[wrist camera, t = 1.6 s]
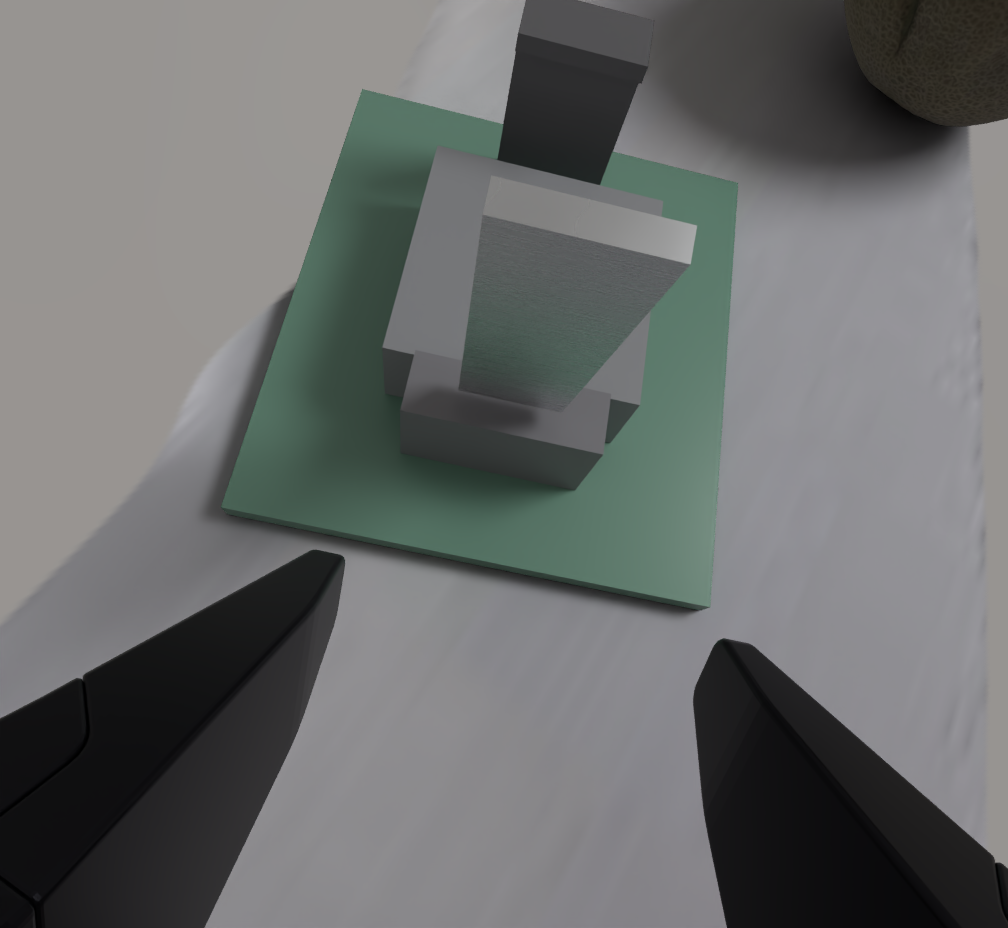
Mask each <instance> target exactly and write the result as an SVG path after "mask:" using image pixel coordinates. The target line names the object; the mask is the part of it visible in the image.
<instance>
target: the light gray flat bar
mask: <svg viewBox="0 0 1008 928" xmlns="http://www.w3.org/2000/svg"><path fill="white" fill-rule="evenodd" d="M696 230H697V225H693V224H689V223H685V222H681V221H676V220H672V219H668V218H664V217H660V216H656V215H652V214H648V213H644V212H640V211H636V210H631V209H627V208H623V207H619V206H615V205H611V204H607V203H603V202H599V201H595V200H591V199H586V198H582V197H578V196H574V195H570V194H566V193H562V192H558V191H554V190H550V189H546V188H541V187H537V186H533V185H529V184H525V183H521V182H517V181H513V180H509V179H505V178H501V177H496V176H492V175H491V179H490V184H489V188H488V193H487V197H486V202H485V206H484V211H483V216H482V223H481V230H480V237H479V244H478V252H477V259H476V266H475V273H474V280H473V288H472V295H471V302H470V309H469V316H468V324H467V331H466V338H465V345H464V352H463V360H462V367H461V374H460V381H459V388H458V390H460V391H464V392H469V393H473V394H478V395H482V396H487V397H491V398H496V399H500V400H505V401H509V402H514V403H519V404H523V405H528V406H532V407H537V408H541V409H546V410H550V411H555V412H559V413H562V412H563V411H564V410H565V408H566V407H567V406H568V405H569V404H570V403H571V402H572V400H573V399H574V398H575V397H576V396H577V395H578V394H579V392H580V391H581V390H582V389H583V388H584V387H585V385H586V384H587V383H588V382H589V381H590V380H591V379H592V377H593V376H594V375H595V374H596V373H597V372H598V370H599V369H600V368H601V367H602V366H603V365H604V364H605V362H606V361H607V360H608V359H609V358H610V357H611V356H612V354H613V353H614V352H615V351H616V350H617V349H618V347H619V346H620V345H621V344H622V343H623V342H624V341H625V339H626V338H627V337H628V336H629V335H630V334H631V333H632V331H633V330H634V329H635V328H636V327H637V326H638V324H639V323H640V322H641V321H642V320H643V319H644V318H645V316H646V315H647V314H648V313H649V312H650V311H651V310H652V308H653V307H654V306H655V305H656V304H657V303H658V301H659V300H660V299H661V298H662V297H663V296H664V295H665V293H666V292H667V291H668V290H669V289H670V288H671V286H672V285H673V284H674V283H675V282H676V281H677V280H678V278H679V277H680V276H681V275H682V274H683V273H684V272H685V270H686V269H687V268H688V267H689V266H690V265H691V259H692V253H693V247H694V241H695V236H696Z"/></svg>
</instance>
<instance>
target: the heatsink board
mask: <svg viewBox="0 0 1008 928" xmlns="http://www.w3.org/2000/svg"><path fill="white" fill-rule="evenodd" d="M653 26H654V21H653V20H650V19H646V18H642V17H638V16H635V15H631V14H627V13H623V12H619V11H616V10H612V9H608V8H604V7H601V6H597V5H593V4H589V3H585V2H582V1H578V0H526V3H525V7H524V11H523V15H522V20H521V24H520V28H519V32H518V38H517V44H516V49H515V51H516V55H515V60H514V66H513V72H512V78H511V83H510V89H509V95H508V101H507V107H506V112H505V118H504V124H500V123H496V122H492V121H488V120H484V119H480V118H476V117H472V116H468V115H464V114H460V113H456V112H452V111H448V110H444V109H440V108H436V107H432V106H428V105H424V104H420V103H416V102H412V101H408V100H404V99H400V98H396V97H392V96H388V95H384V94H380V93H376V92H371V91H367V90H363V89H362V92H361V95H360V98H359V101H358V104H357V106H356V109H355V112H354V115H353V118H352V122H351V124H350V127H349V130H348V133H347V136H346V139H345V142H344V145H343V148H342V151H341V154H340V157H339V160H338V163H337V166H336V168H335V171H334V174H333V178H332V180H331V183H330V186H329V189H328V192H327V195H326V198H325V201H324V204H323V207H322V210H321V213H320V216H319V219H318V222H317V225H316V228H315V230H314V233H313V236H312V239H311V242H310V245H309V248H308V251H307V254H306V257H305V260H304V263H303V266H302V269H301V272H300V275H299V278H298V281H297V284H296V287H295V290H294V292H293V295H292V298H291V301H290V304H289V307H288V310H287V313H286V316H285V319H284V322H283V325H282V328H281V331H280V334H279V337H278V340H277V343H276V346H275V349H274V352H273V354H272V357H271V360H270V363H269V366H268V369H267V372H266V375H265V378H264V381H263V384H262V387H261V390H260V393H259V396H258V399H257V402H256V405H255V408H254V411H253V414H252V416H251V419H250V422H249V425H248V428H247V431H246V434H245V437H244V440H243V443H242V446H241V449H240V452H239V455H238V458H237V461H236V464H235V467H234V470H233V473H232V476H231V479H230V481H229V484H228V487H227V490H226V493H225V496H224V499H223V502H222V505H221V508H222V509H223V510H224V511H225V512H226V514H229V515H234V516H239V517H244V518H249V519H254V520H259V521H263V522H268V523H273V524H278V525H283V526H288V527H293V528H298V529H303V530H308V531H313V532H317V533H322V534H327V535H332V536H337V537H342V538H347V539H352V540H357V541H362V542H367V543H371V544H376V545H381V546H386V547H391V548H396V549H401V550H406V551H411V552H416V553H420V554H425V555H430V556H435V557H440V558H445V559H450V560H455V561H460V562H465V563H470V564H474V565H479V566H484V567H489V568H494V569H499V570H504V571H509V572H514V573H519V574H524V575H528V576H533V577H538V578H543V579H548V580H553V581H558V582H563V583H568V584H573V585H578V586H582V587H587V588H592V589H597V590H602V591H607V592H612V593H617V594H622V595H627V596H632V597H636V598H641V599H646V600H651V601H656V602H661V603H666V604H671V605H676V606H681V607H686V608H690V609H695V610H703V609H706V608H709V607H710V603H711V587H712V572H713V557H714V542H715V527H716V511H717V496H718V481H719V466H720V451H721V435H722V420H723V405H724V390H725V375H726V359H727V344H728V329H729V314H730V299H731V284H732V268H733V253H734V238H735V223H736V208H737V192H738V183H736V182H732V181H728V180H724V179H720V178H716V177H712V176H708V175H704V174H700V173H696V172H692V171H688V170H684V169H680V168H676V167H672V166H668V165H664V164H660V163H656V162H652V161H648V160H644V159H640V158H636V157H632V156H628V155H624V154H620V153H616V152H613V149H614V146H615V144H616V141H617V139H618V136H619V133H620V131H621V128H622V125H623V123H624V120H625V117H626V115H627V112H628V109H629V107H630V104H631V101H632V99H633V96H634V93H635V91H636V88H637V85H638V83H642V81H643V78H644V76H645V73H646V70H647V68H648V63H649V55H650V48H651V41H652V33H653ZM491 175H492V176H496V177H501V178H505V179H509V180H513V181H517V182H521V183H525V184H529V185H533V186H537V187H541V188H546V189H550V190H554V191H558V192H562V193H566V194H570V195H574V196H578V197H582V198H586V199H591V200H595V201H599V202H603V203H607V204H611V205H615V206H619V207H623V208H627V209H631V210H636V211H640V212H644V213H648V214H652V215H656V216H660V217H664V218H668V219H672V220H676V221H681V222H685V223H689V224H693V225H697V230H696V236H695V241H694V247H693V253H692V259H691V265H690V266H689V267H688V268H687V269H686V270H685V272H684V273H683V274H682V275H681V276H680V277H679V278H678V280H677V281H676V282H675V283H674V284H673V285H672V286H671V288H670V289H669V290H668V291H667V292H666V293H665V295H664V296H663V297H662V298H661V299H660V300H659V301H658V303H657V304H656V305H655V306H654V307H653V308H652V310H651V311H650V312H649V313H648V314H647V315H646V316H645V318H644V319H643V320H642V321H641V322H640V323H639V324H638V326H637V327H636V328H635V329H634V330H633V331H632V333H631V334H630V335H629V336H628V337H627V338H626V339H625V341H624V342H623V343H622V344H621V345H620V346H619V347H618V349H617V350H616V351H615V352H614V353H613V354H612V356H611V357H610V358H609V359H608V360H607V361H606V362H605V364H604V365H603V366H602V367H601V368H600V369H599V370H598V372H597V373H596V374H595V375H594V376H593V377H592V379H591V380H590V381H589V382H588V383H587V384H586V385H585V387H584V388H583V389H582V390H581V391H580V392H579V394H578V395H577V396H576V397H575V398H574V399H573V400H572V402H571V403H570V404H569V405H568V406H567V407H566V408H565V410H564V411H563V412H562V413H559V412H555V411H550V410H546V409H541V408H537V407H532V406H528V405H523V404H519V403H514V402H509V401H505V400H500V399H496V398H491V397H487V396H482V395H478V394H473V393H469V392H464V391H460V390H458V388H459V381H460V374H461V367H462V360H463V352H464V345H465V338H466V331H467V324H468V316H469V309H470V302H471V295H472V288H473V280H474V273H475V266H476V259H477V252H478V244H479V237H480V230H481V223H482V216H483V211H484V206H485V202H486V197H487V193H488V188H489V184H490V179H491Z"/></svg>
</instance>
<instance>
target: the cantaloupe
mask: <svg viewBox="0 0 1008 928" xmlns="http://www.w3.org/2000/svg"><path fill="white" fill-rule="evenodd" d="M844 6H845V16H846V22H847V28H848V34H849V37H850V41H851V45H852V48H853V51H854V54H855V56H856V59H857V61H858V64H859V66H860V68H861V70H862V72H863V73H864V75H865V76H866V78H867V79H868V80H869V82H870V83H871V84H872V85H874V86H875V87H876V88H878V89H879V90H880V91H882V92H883V93H884V94H885V95H886V96H888V97H889V98H891V99H892V100H894V101H895V102H896V103H898V104H899V105H900V106H901V107H903V108H904V109H906V110H908V111H910V112H911V113H912V114H914V115H917V116H920V117H922V118H924V119H926V120H928V121H930V122H932V123H935V124H939V125H944V126H971V125H978V124H985V123H990V122H994V121H999V120H1003V119H1007V118H1008V0H844Z"/></svg>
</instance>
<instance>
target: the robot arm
mask: <svg viewBox="0 0 1008 928" xmlns="http://www.w3.org/2000/svg"><path fill="white" fill-rule="evenodd" d="M344 568H345V559H344V557H343V556H341V555H338V554H334V553H329V552H324V551H320V550H311V551H309V552H307V553H305V554H303V555H301V556H300V557H298V558H296V559H294V560H292V561H291V562H289V563H287V564H285V565H283V566H281V567H280V568H278V569H276V570H274V571H272V572H270V573H269V574H267V575H265V576H263V577H261V578H259V579H258V580H256V581H254V582H252V583H250V584H248V585H247V586H245V587H243V588H241V589H239V590H237V591H236V592H234V593H232V594H230V595H228V596H226V597H225V598H223V599H221V600H219V601H217V602H215V603H214V604H212V605H210V606H208V607H206V608H204V609H203V610H201V611H199V612H197V613H195V614H193V615H192V616H190V617H188V618H186V619H184V620H182V621H181V622H179V623H177V624H175V625H173V626H171V627H170V628H168V629H166V630H164V631H162V632H161V633H159V634H157V635H155V636H153V637H151V638H150V639H148V640H146V641H144V642H142V643H140V644H139V645H137V646H135V647H133V648H131V649H129V650H128V651H126V652H124V653H122V654H120V655H118V656H117V657H115V658H113V659H111V660H109V661H107V662H106V663H104V664H102V665H100V666H98V667H96V668H95V669H93V670H91V671H89V672H87V673H86V674H84V675H83V681H82V679H80V678H76V679H74V680H72V681H70V682H68V683H67V684H65V685H63V686H61V687H59V688H57V689H56V690H54V691H52V692H50V693H48V694H46V695H45V696H43V697H41V698H39V699H37V700H35V701H33V702H31V703H29V704H27V705H25V706H23V707H22V708H20V709H18V710H16V711H14V712H12V713H10V714H8V715H6V716H4V717H2V718H0V928H204V927H205V925H206V923H207V921H208V919H209V917H210V915H211V913H212V911H213V909H214V906H215V904H216V902H217V900H218V898H219V896H220V894H221V892H222V890H223V888H224V886H225V884H226V881H227V879H228V877H229V875H230V873H231V871H232V869H233V867H234V865H235V863H236V861H237V859H238V856H239V854H240V852H241V850H242V848H243V846H244V844H245V842H246V840H247V838H248V836H249V834H250V832H251V829H252V827H253V825H254V823H255V821H256V819H257V817H258V815H259V813H260V811H261V809H262V807H263V804H264V802H265V800H266V798H267V796H268V794H269V792H270V790H271V788H272V786H273V784H274V782H275V779H276V777H277V775H278V773H279V771H280V769H281V767H282V765H283V763H284V761H285V759H286V757H287V754H288V752H289V750H290V748H291V746H292V743H293V741H294V739H295V737H296V734H297V732H298V729H299V727H300V724H301V721H302V718H303V716H304V713H305V710H306V707H307V704H308V701H309V698H310V695H311V692H312V689H313V686H314V683H315V680H316V677H317V674H318V671H319V668H320V665H321V662H322V659H323V656H324V653H325V651H326V648H327V645H328V642H329V639H330V636H331V633H332V630H333V627H334V623H335V620H336V616H337V611H338V605H339V599H340V593H341V587H342V581H343V575H344ZM693 707H694V717H695V728H696V739H697V749H698V760H699V770H700V781H701V792H702V801H703V809H704V816H705V822H706V827H707V833H708V838H709V843H710V848H711V853H712V858H713V862H714V867H715V872H716V877H717V882H718V887H719V892H720V896H721V901H722V906H723V911H724V916H725V921H726V926H727V928H1008V868H1006V867H1005V866H1004V865H1003V864H1002V863H995V860H994V857H993V856H992V855H991V854H990V853H989V852H988V851H987V850H986V849H985V848H983V847H982V846H981V845H980V844H979V843H978V842H977V841H975V840H974V839H973V838H972V837H971V836H970V835H969V834H967V833H966V832H965V831H964V830H963V829H962V828H961V827H959V826H958V825H957V824H956V823H955V822H954V821H953V820H951V819H950V818H949V817H948V816H947V815H946V814H945V813H943V812H942V811H941V810H940V809H939V808H938V807H937V806H936V805H934V804H933V803H932V802H931V801H930V800H929V799H928V798H926V797H925V796H924V795H923V794H922V793H921V792H920V791H918V790H917V789H916V788H915V787H914V786H913V785H912V784H910V783H909V782H908V781H907V780H906V779H905V778H904V777H902V776H901V775H900V774H899V773H898V772H897V771H896V770H894V769H893V768H892V767H891V766H890V765H889V764H888V763H886V762H885V761H884V760H883V759H882V758H881V757H880V756H878V755H877V754H876V753H875V752H874V751H873V750H872V749H870V748H869V747H868V746H867V745H866V744H865V743H864V742H862V741H861V740H860V739H859V738H858V737H857V736H856V735H854V734H853V733H852V732H851V731H850V730H849V729H848V728H846V727H845V726H844V725H843V724H842V723H841V722H840V721H838V720H837V719H836V718H835V717H834V716H833V715H832V714H830V713H829V712H828V711H827V710H826V709H825V708H824V707H823V706H821V705H820V704H819V703H818V702H817V701H816V700H815V699H813V698H812V697H811V696H810V695H809V694H808V693H807V692H805V691H804V690H803V689H802V688H801V687H800V686H799V685H797V684H796V683H795V682H794V681H793V680H792V679H791V678H789V677H788V676H787V675H786V674H785V673H784V672H783V671H781V670H780V669H779V668H778V667H777V666H776V665H775V664H773V663H772V662H771V661H770V660H769V659H768V658H767V657H765V656H764V655H763V654H762V653H761V652H760V651H759V650H757V649H756V648H755V647H754V646H753V645H751V644H748V643H744V642H739V641H735V640H730V639H721V640H719V641H717V643H716V644H715V645H714V647H713V649H712V651H711V653H710V655H709V657H708V660H707V662H706V664H705V666H704V668H703V671H702V673H701V675H700V677H699V679H698V682H697V684H696V687H695V690H694V696H693Z"/></svg>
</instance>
